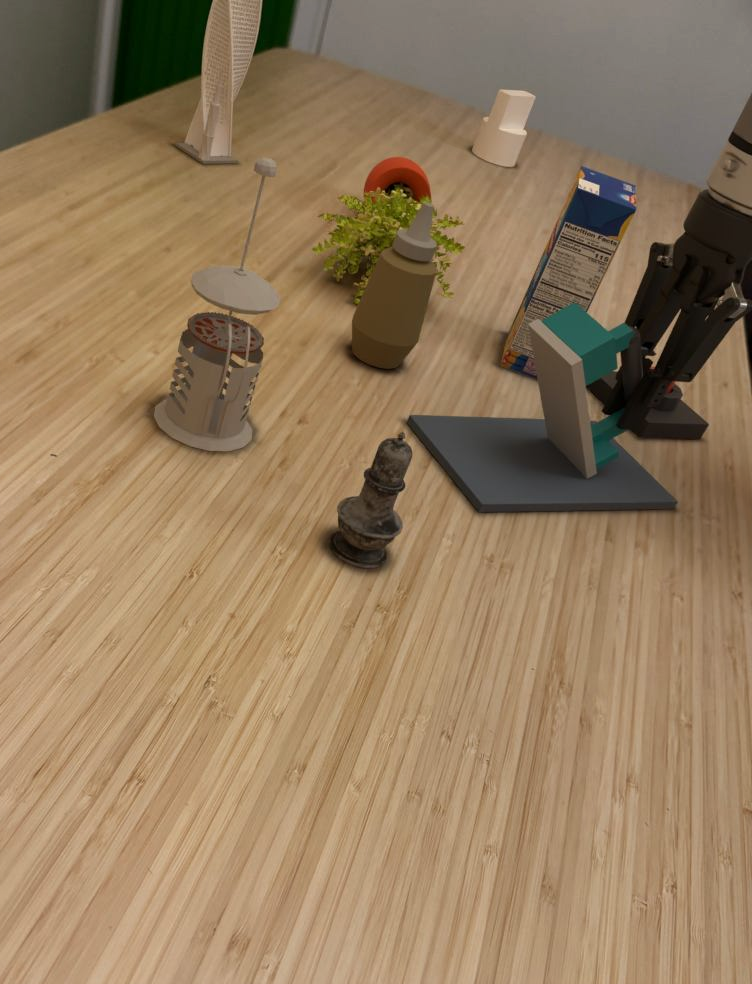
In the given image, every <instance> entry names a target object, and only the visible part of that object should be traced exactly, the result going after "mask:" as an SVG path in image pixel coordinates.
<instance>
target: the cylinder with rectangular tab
mask: <svg viewBox="0 0 752 984" xmlns="http://www.w3.org/2000/svg"><path fill="white" fill-rule="evenodd" d="M536 98H537V96H536V95H534V94H532V93H530V92H529V91H526V90H520V89H519V90H517V89H516V90H515V89H498V91H497V93H496V97H495V100H494V102H493V105H492V107H491V110H490V112H489V116H485V117H483V118H482V121H481V124H480V127H479V130H478V131H477V132H478V133H477V134H476V138H475V141H474V143H473V146H472V149H471V152H472V153H473V154H474V155H475V156H476V157H478V158H479V159H481V160H483V161H486V162H488V163H491V164H494V165H497V166H501V167H505V168H506V167H507V168H512V167H515V166H516V164H517V161H518V159H519V155H520V153H521V151H522V148H523V146H524V143H525V140H526V139H527V135H528V132H527V131H526V129H524V128H525V126H526V123H527V121H528V118H529V116H530V114H531V110H532V108H533V107H534V104H535V102H536V101H535V100H536Z"/></svg>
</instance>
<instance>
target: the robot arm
mask: <svg viewBox="0 0 752 984" xmlns="http://www.w3.org/2000/svg"><path fill="white" fill-rule="evenodd" d="M715 161H716V162H715V163H714V165H713V167H712V169H711V170H710V173H709V174H708V177H707V179H706V180H705V182H706V185H707V187H708V188H706V189H703V190H702V191H699V193H698V195H697V196H696V198H695V200H694V202H693V204H692V206H691V208H690V210H689V212H688V214H687V216H686V217H685V220H684V221H683V230H684V232H683V233H682V234H681V235H680V236H679V237H678V238H677V239H676V240H675V242H674V243H673V242H672V243H666V242H659V241H654V242H652V244H651V245H650V247H649V252H648V259H647V266H646V268H645V271H644V273H643V276H642V279H641V281H640V283H639V286H638V288H637V291H636V293H635V296H634V298H633V300H632V303H631V305H630V308H629V310H628V313H627V315H626V318H625V320H624V323H625V324H626V325H628V326H629V327H635V328H636V329H638V331H639V333H640V340H641V354H642V368H643V377H642V379H641V381H640V382H639V384H638V386H637V388H636V390H635V391H634V393H633V395H632V397H631V399H630V400H629V402H628V404H627V406H626V408H625V410H624V411H623V413H622V415H621V417H620V419H619V420H618V422H617V424H616V426H617V427H618V428H619V429H626V430H627V431H629V430H631V431H632V430H639V429H640V427H641V425H642V423H643V422H644V420H645V418H646V416H647V415H648V413H649V411H650V409H651V408H652V407H656V406H657V405H658V404H659V403H660V401H661V400H662V398H663V396H664V394H665V393H666V391H667V389H668V387H669V386H670V384H671V383H672V382H673V381H676V382H675V383H677V382H678V383H691V382H693V380H694V379H695V378H696V377H697V375H698V373H699V372H700V371H701V369H703V367H704V366H705V364H706V363H707V362H708V360H709V359H710V357H711V356H712V355H713V353H714V352H715V351H716V349H717V348H718V347H719V345H720V344H721V343H722V341H723V340H724V338H725V337H726V336H727V335H728V333H729V332H730V330H731V329H732V328H733V326H734V325H735V324H736V322H738V321H739V320H741V319H742V318H744V316H746V315H747V314H749V313H750V312H751V311H752V300H751V299H747V298H745V297H744V294H743V292H742V289H741V286H740V285H741V284H742V282H743V280H744V275H745V270H746V267H747V265H748V264H749V263H750V262H751V261H752V92H751V93H750V95H749V97H748V100H747V101H746V103H745V105H744V107H743V108H742V111H741V113H740V115H739V117H738V118H737V120H736V123H735V124H734V127H733V128H732V131H731V132H730V135H729V137H728V138H727V140H726V142H725V144H724V146H723V148H722V150H721V151H720V153H719V155H718V157H717V159H716V160H715ZM720 298H721V299H720ZM677 315H678V316H677ZM676 317H677V318H676ZM675 318H676V320H674V319H675ZM673 321H675V323H674V325H673V327H672V329H671V332H670V333H669V336H668V337H667V340H666V342H665V344H664V346H663V349H662V350H661V353H660V355H659V357H658V359H657V362H656V364H655V366H654V367H655V368H654V369H650V368H651V367H653V364H654V361H653V360H652V359H651V358H648V357H655V356H656V355H657V353H656V351H655V348H656V347H657V346H658V344H659V342H660V341H661V339H662V338H663V336H664V335H665V334H666V332H667V330H668V329H669V327H670V326H671V324H672V323H673ZM616 372H617V374H616V378H615V379H616V380H617V383H616V384H615V386H614V388H613V390H612V392H611V394H610V396H609V397H608V399H607V401H606V403H605V404H604V405H603V407H602V408H601V413H602V414H604V415H605V416H610V415H611V414H613V413H615V412H617V411H619V410H620V409H622V408H624V407H625V399H624V388H623V377H622V366H621V365H620V366H619V368H618V370H617V371H616Z"/></svg>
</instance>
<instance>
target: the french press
mask: <svg viewBox="0 0 752 984" xmlns="http://www.w3.org/2000/svg"><path fill="white" fill-rule="evenodd" d="M253 171H254V172H255V173H256V174H258V175H259V176H261V180H260V183H259V184H260V185H259V189H258V191H257V192H258V193H257V197H256V200H255V205H254V209H253V214H252V218H251V221H250V226H249V230H248V233H247V238H246V242H245V246H244V251H243V255H242V259H241V263H240V266H237V265H236V266H235V265H231V264H221V265H210V266H207V267H204V268H201V269H199V270H197V271H196V272H194V273H192V274H191V279H190V284H191V287H192V288H193V290H194V292H195V293H196V295H197V296H199V297H200V298H201V299H203V300H204V301H206V302H207V303H209V304H211V305H213V306H215V307H217V308H219V309H221V310H225V311H229V313H228V314H227V313H225V314H224V313H223V312H216V311H211V312H210V311H205V312H200V313H199V312H197V313H195V314H194V315H192V316H190V317H189V318H188V319H187V323H186V326H187V328H186V329H185V330H184V331H182V332H181V335H180V339H179V343H178V347H177V353H178V354H179V355H180V356H177V357H175V361H174V365H175V366H176V367H177V368H175V369H173V370H172V375H171V377H172V378H173V380H172V381H170V385H169V390H170V391H171V392H170V393H168V394H167V397H166V398H165V399H163V400H162V401H160V402H159V403H158V404H156V405H155V407H154V413H153V418H154V420H155V422H156V425H157V426H158V428H159V429H161V430H162V431H163V432H164V433H165V434H167V435H168V436H169V437H170V438H172V439H173V440H175V441H178V442H179V443H182V444H184V445H186V446H188V447H191V448H194V449H195V448H196V449H200V450H204V451H207V452H231V451H235V450H239V449H243V448H244V447H246V446H247V445H248V444H249V443H251V441H252V440H253V428H252V427H251V425H250V423H249V422H248V416H249V413H250V406H251V405H252V401H253V395H254V393H255V390H256V383H257V382H258V379H259V375H260V373H259V371H260V370H261V367H262V364H263V361H264V352H263V350H262V349H261V348H262V347H263V346H264V341H265V337H264V336H263V335H262V333H261V331H260V330H259V329H258V328H257V327H255V326H254V325H252V324H251V323H250V321H249V322H247V321H244V319H241V317H240V318H237V316H236V317H235V315H233V313H235V314H240V315H252V316H258V315H263V314H266V313H268V314H269V313H270V312H271V311H273V310H274V309H275V308H277V307H279V306H280V305H281V296H280V295H279V293H278V292H277V291H276V289H275V288H274V286H272V284H271V283H270V282H268V281H267V280H265V279H264V278H263V277H261V276H259V275H258V274H257V273H255V272H254V271H252V270H250V269H248V268H244V266H245V262H246V257H247V254H248V249H249V246H250V241H251V236H252V233H253V229H254V225H255V221H256V218H257V213H258V209H259V205H260V201H261V197H262V192H263V187H264V184H265V179H266V177H268V178H276V175H277V163H276V161H275V160H273V159H271V158H270V157H265V156H264V157H262V156H261V157H260V158H258V159H257V160H256V162H255V163H254V167H253ZM190 348H192V352H191V351H190V350H189V349H190ZM232 355H235V356H237V357H238V358H240V359H241V360H243V361H244V364H243V365H241V364H239V363H238V362H236V361H235V360H234V359H233V358H232ZM184 362H185V363H186V364H187V365H185V366H184V365H183V363H184ZM248 363H250V364H255V365H251V366H248ZM229 367H231V370H229ZM180 375H182V376H183V377H180ZM254 378H255V380H254V381H252V380H253V379H254ZM226 379H228V382H226ZM177 387H179V388H180V389H177ZM224 390H225V394H224V393H223V391H224ZM251 390H252V391H251ZM250 392H251V393H250ZM247 404H248V405H247Z"/></svg>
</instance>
